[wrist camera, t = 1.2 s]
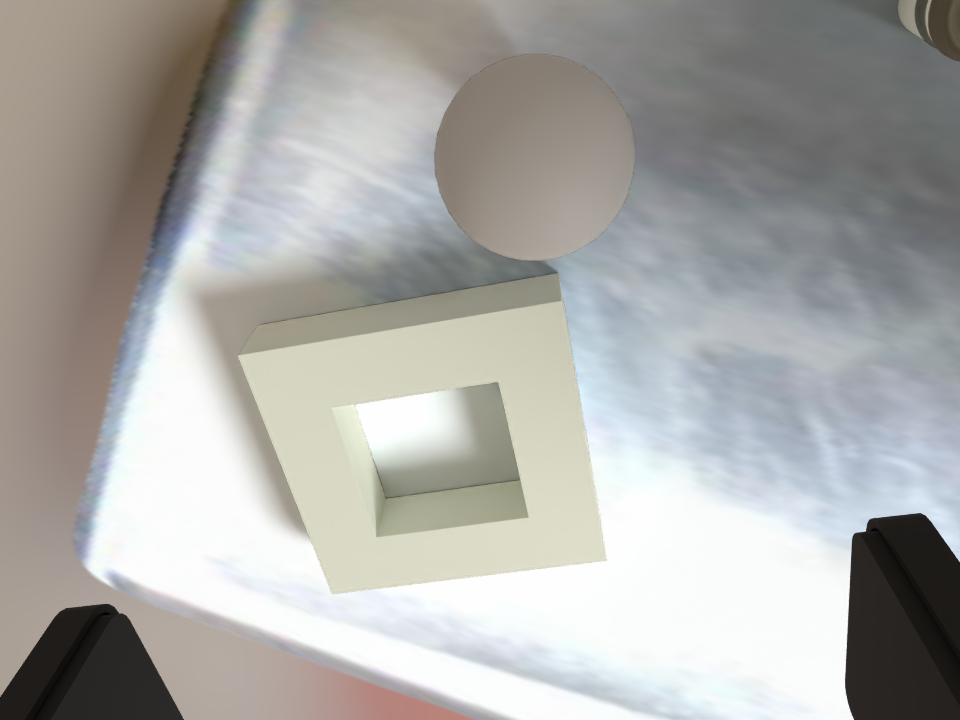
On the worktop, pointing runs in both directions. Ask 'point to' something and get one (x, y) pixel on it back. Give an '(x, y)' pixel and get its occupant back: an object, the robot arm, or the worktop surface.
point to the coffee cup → (934, 23)
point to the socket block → (417, 370)
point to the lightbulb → (534, 157)
